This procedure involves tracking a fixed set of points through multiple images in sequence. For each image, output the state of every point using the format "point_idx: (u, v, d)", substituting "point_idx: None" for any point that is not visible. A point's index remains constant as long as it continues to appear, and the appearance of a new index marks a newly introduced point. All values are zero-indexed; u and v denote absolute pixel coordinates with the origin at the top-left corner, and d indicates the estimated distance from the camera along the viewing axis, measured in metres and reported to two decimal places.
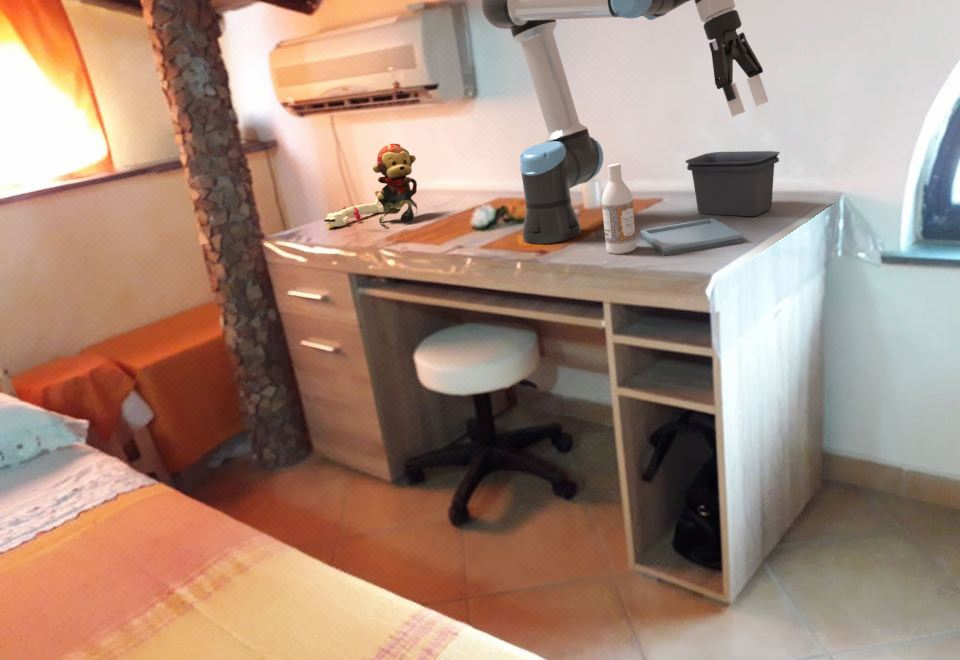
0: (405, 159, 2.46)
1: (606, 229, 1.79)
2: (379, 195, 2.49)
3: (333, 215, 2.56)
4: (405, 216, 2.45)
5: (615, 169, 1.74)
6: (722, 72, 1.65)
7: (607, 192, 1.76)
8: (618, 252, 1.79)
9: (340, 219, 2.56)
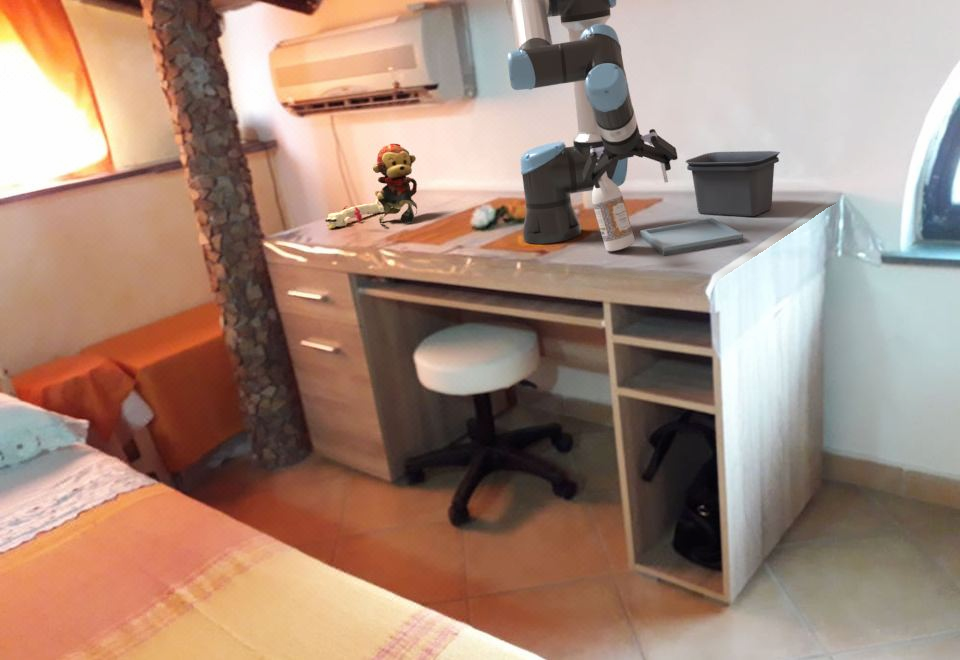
0: (405, 159, 2.46)
1: (601, 228, 1.80)
2: (379, 195, 2.49)
3: (334, 215, 2.55)
4: (405, 216, 2.45)
5: None
6: (585, 175, 1.68)
7: (595, 191, 1.78)
8: (617, 248, 1.79)
9: (341, 219, 2.56)
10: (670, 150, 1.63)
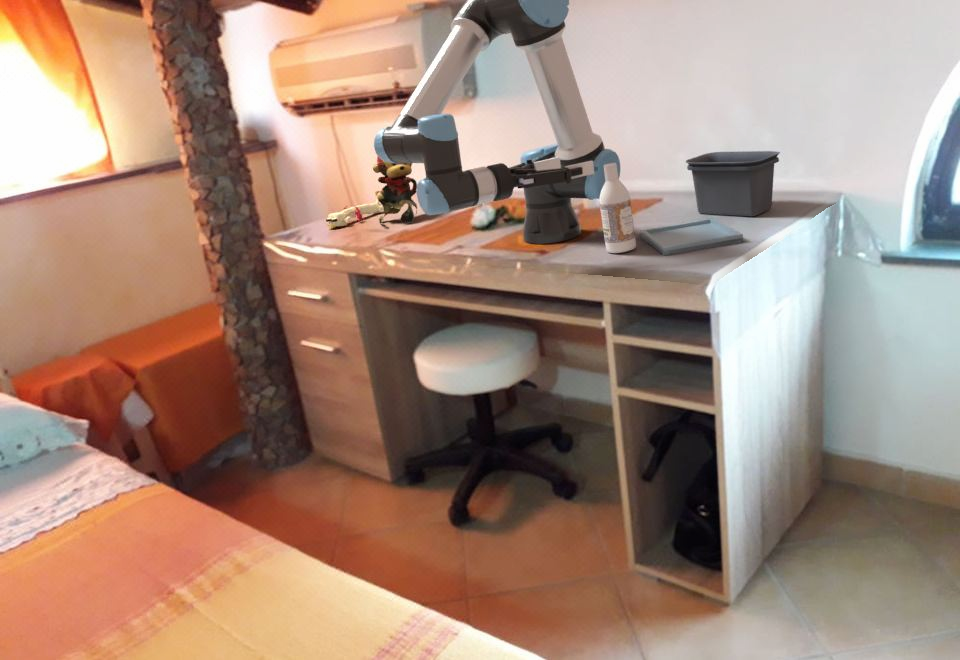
0: None
1: (605, 229, 1.79)
2: (379, 195, 2.49)
3: (335, 215, 2.55)
4: (405, 216, 2.45)
5: (611, 168, 1.75)
6: None
7: (604, 191, 1.76)
8: (618, 251, 1.79)
9: (342, 219, 2.56)
10: (556, 180, 1.60)
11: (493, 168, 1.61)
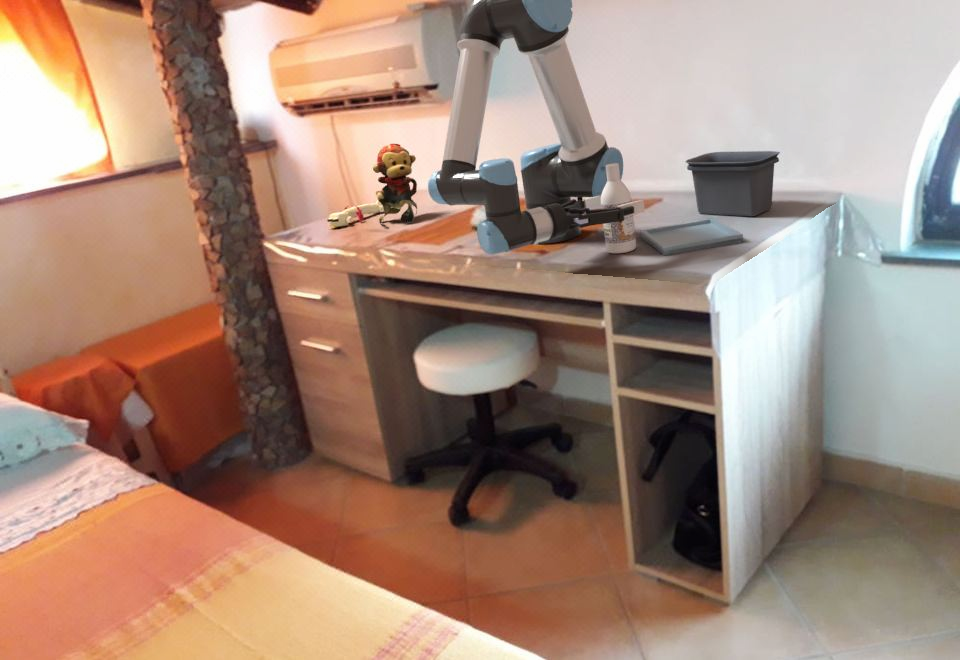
0: (405, 159, 2.46)
1: (606, 229, 1.79)
2: (379, 195, 2.49)
3: (336, 215, 2.55)
4: (405, 216, 2.45)
5: (614, 169, 1.75)
6: None
7: (606, 192, 1.76)
8: (619, 251, 1.79)
9: (343, 219, 2.56)
10: (610, 220, 1.68)
11: (549, 208, 1.69)
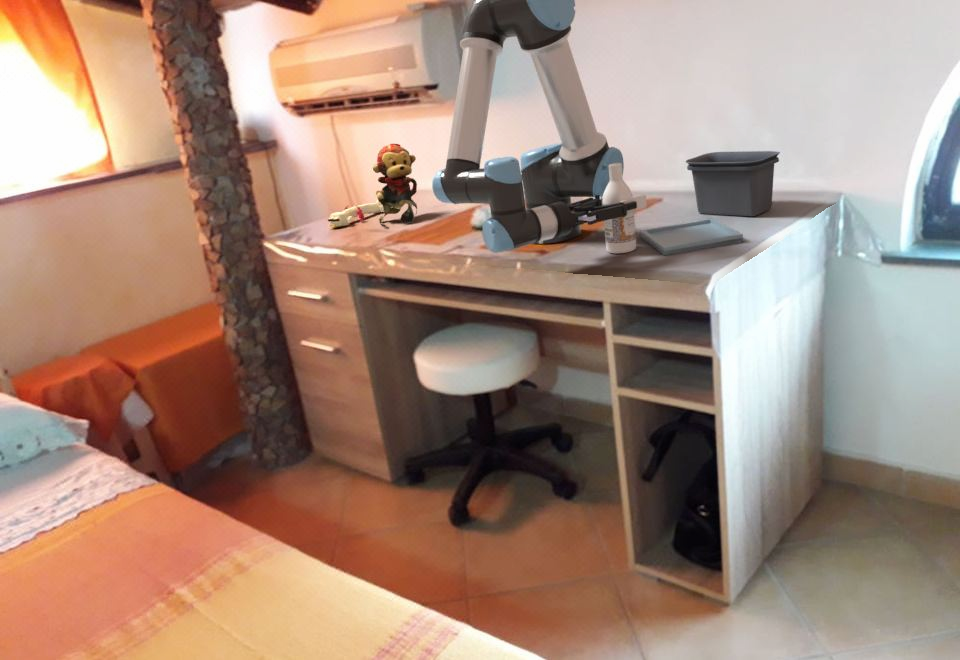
0: (405, 159, 2.46)
1: (607, 229, 1.79)
2: (379, 195, 2.49)
3: (337, 215, 2.55)
4: (405, 216, 2.45)
5: (617, 168, 1.75)
6: None
7: (609, 191, 1.76)
8: (619, 251, 1.79)
9: (344, 219, 2.56)
10: (615, 215, 1.71)
11: (554, 207, 1.70)
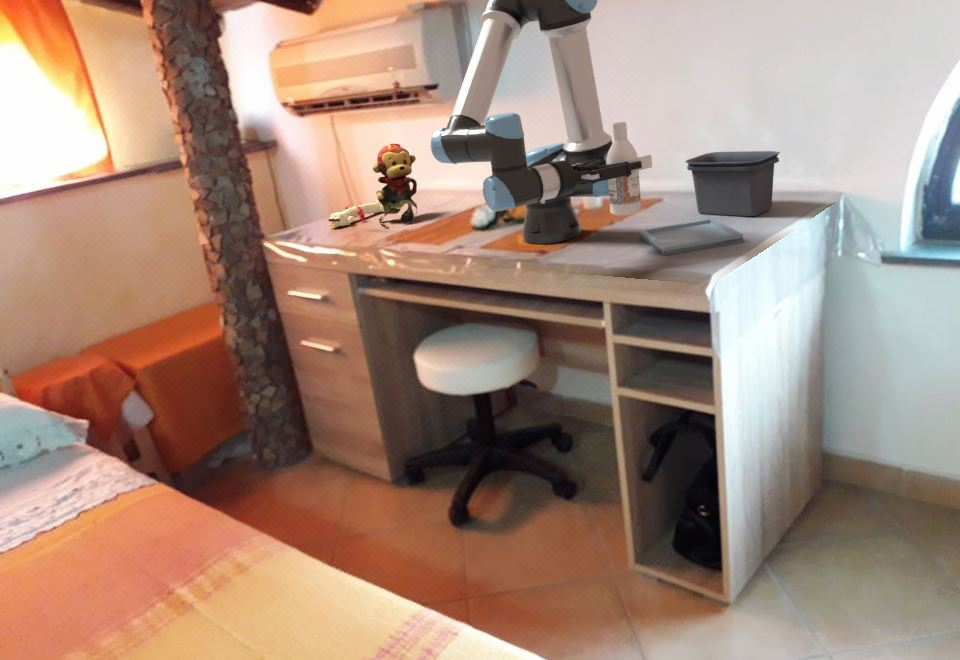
0: (405, 159, 2.46)
1: (611, 190, 1.75)
2: (379, 195, 2.49)
3: (338, 214, 2.55)
4: (405, 216, 2.45)
5: (621, 127, 1.71)
6: None
7: (613, 151, 1.72)
8: (624, 213, 1.75)
9: (344, 218, 2.56)
10: (619, 174, 1.67)
11: (556, 165, 1.66)
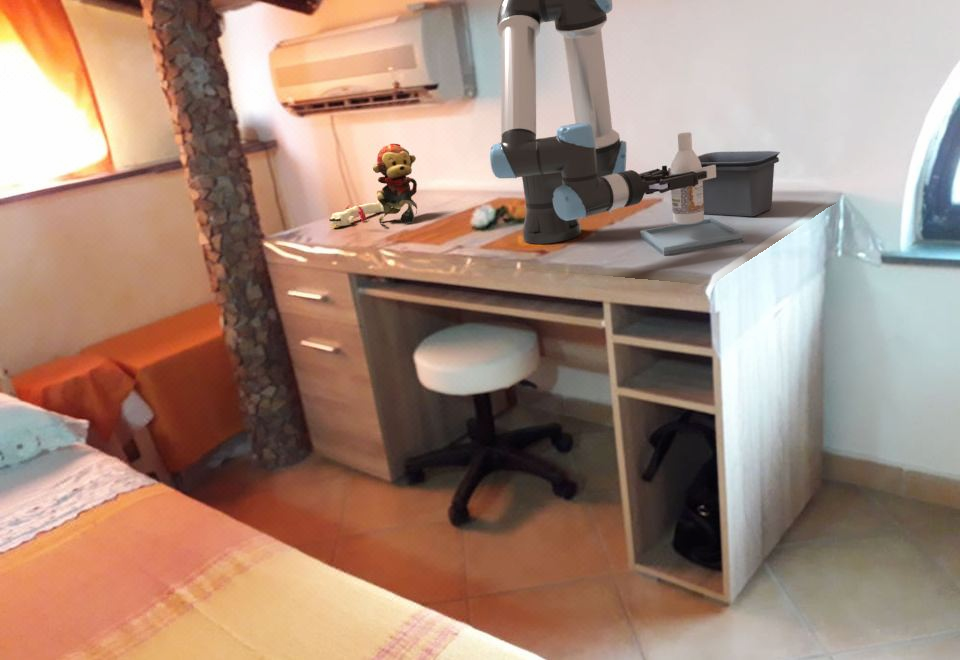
0: (405, 159, 2.46)
1: (675, 199, 1.77)
2: (379, 195, 2.49)
3: (339, 214, 2.55)
4: (405, 216, 2.45)
5: (687, 137, 1.73)
6: None
7: (678, 161, 1.74)
8: (688, 222, 1.77)
9: (345, 218, 2.56)
10: (687, 184, 1.69)
11: (625, 175, 1.68)
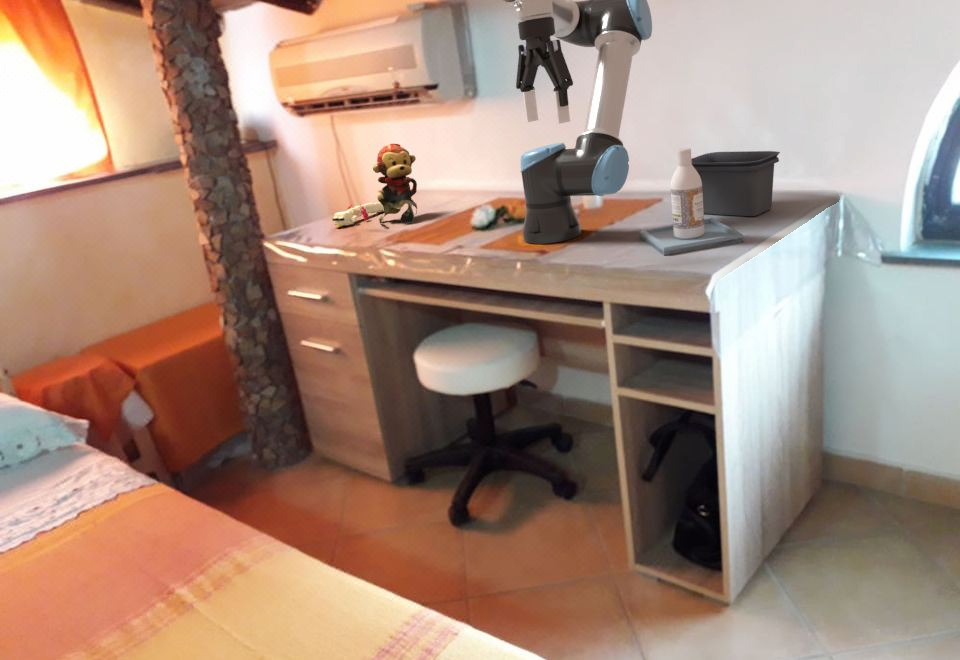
0: (405, 159, 2.46)
1: (676, 214, 1.78)
2: (379, 195, 2.49)
3: (342, 214, 2.55)
4: (405, 216, 2.45)
5: (686, 153, 1.74)
6: None
7: (678, 177, 1.75)
8: (688, 237, 1.78)
9: (348, 218, 2.56)
10: (560, 71, 1.58)
11: (553, 18, 1.63)
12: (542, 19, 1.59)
